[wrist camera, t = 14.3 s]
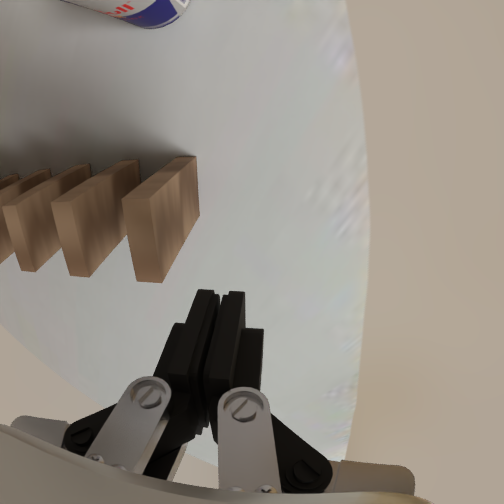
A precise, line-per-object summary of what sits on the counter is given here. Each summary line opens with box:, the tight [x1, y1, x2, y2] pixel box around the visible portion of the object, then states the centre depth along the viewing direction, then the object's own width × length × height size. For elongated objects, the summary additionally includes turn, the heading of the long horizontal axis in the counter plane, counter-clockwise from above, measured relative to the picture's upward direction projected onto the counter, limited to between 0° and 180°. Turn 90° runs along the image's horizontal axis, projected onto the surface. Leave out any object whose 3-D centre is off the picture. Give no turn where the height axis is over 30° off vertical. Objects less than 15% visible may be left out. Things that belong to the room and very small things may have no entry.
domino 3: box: [51, 159, 141, 277], centre depth 21 cm, size 5×2×10 cm, turn 0°
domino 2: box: [2, 164, 91, 272], centre depth 21 cm, size 5×2×10 cm, turn 0°
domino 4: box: [121, 157, 200, 283], centre depth 20 cm, size 5×2×10 cm, turn 0°
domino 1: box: [0, 169, 51, 264], centre depth 21 cm, size 5×2×10 cm, turn 0°
